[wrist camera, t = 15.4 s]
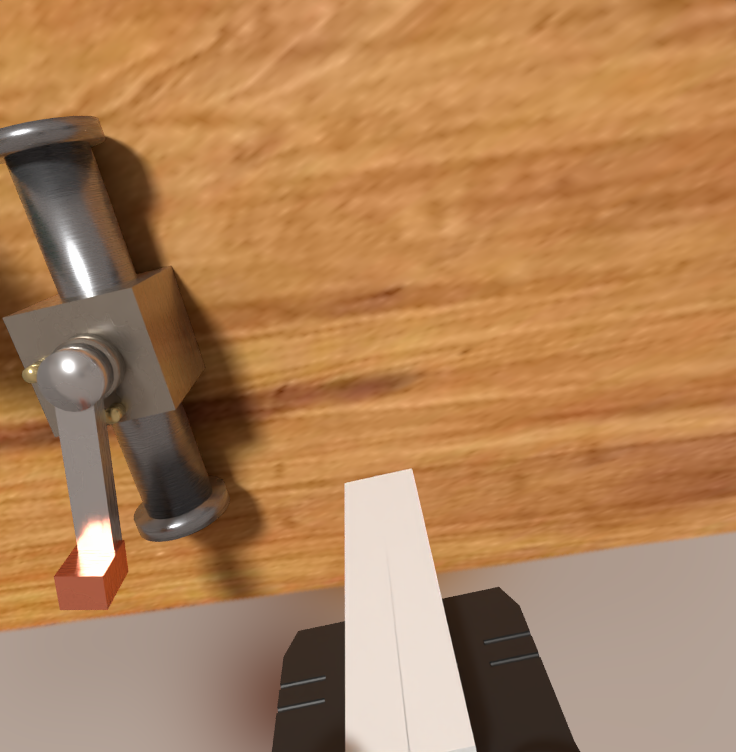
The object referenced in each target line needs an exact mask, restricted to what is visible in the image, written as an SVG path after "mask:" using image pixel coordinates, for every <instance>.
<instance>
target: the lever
mask: <svg viewBox="0 0 736 752" xmlns="http://www.w3.org/2000/svg"><path fill="white" fill-rule="evenodd" d="M113 380H114V371H113V367H112V364H111V362H110V360H109V359H108V357H107V356H106V355H105V354H104V353H103V352H102V351H101V350H99V349H98V348H96V347H94V346H92V345H89V344H85V343H72V344H68V345H66V346H64V347H62V348H61V349H59V350H57V351H56V352H54V353H53V354H51V355H49V356H48V357H46V358H45V359H44V360H43V361H42V363H41V364H40V366H39V368H38V371H37V384H38V387H39V390H40V392H41V393H42V395H43V396H44V398H45V399H46V400H47V401H48V402H49V403H51V404H52V405H54V406H55V411H56V418H57V424H58V430H59V436H60V442H61V448H62V454H63V461H64V467H65V473H66V479H67V485H68V491H69V497H70V503H71V510H72V516H73V522H74V528H75V534H76V540H77V545H76V547H75V548H74V549H73V551H72V552H71V554H70V555H69V556H68V558H67V559H66V561H65V562H64V563H63V565H62V566H61V567H60V569H59V570H58V572H57V573H56V574H55V576H54V579H55V585H56V590H57V596H58V601H59V607H60V610H108V608H109V606H110V604H111V603H112V601H113V599H114V597H115V595H116V593H117V591H118V590H119V588H120V586H121V584H122V582H123V580H124V578H125V577H126V575H127V573H128V565H127V558H126V550H125V543H124V540H122V536H121V528H120V521H119V513H118V506H117V498H116V491H115V483H114V476H113V468H112V461H111V453H110V446H109V438H108V431H107V423H106V416H105V408H104V401H103V396H104V395H105V394H106V393H107V392H108V391H109V390H110V388H111V386H112V384H113Z"/></svg>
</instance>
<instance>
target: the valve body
mask: <svg viewBox="0 0 736 752" xmlns="http://www.w3.org/2000/svg"><path fill="white" fill-rule="evenodd" d="M105 140H106V139H105V136H104V133H103V130H102V127H101V125H100V122H99V119H98V118H96V117H92V116H69V117H59V118H50V119H43V120H37V121H32V122H26V123H21V124H17V125H12V126H8V127H5V128H1V129H0V164H1V163H6V165H7V167H8V170H9V172H10V175H11V177H12V180H13V182H14V185H15V187H16V190H17V192H18V195H19V197H20V199H21V202H22V204H23V207H24V209H25V212H26V214H27V217H28V219H29V222H30V224H31V227H32V229H33V232H34V234H35V237H36V239H37V242H38V244H39V246H40V249H41V251H42V254H43V256H44V259H45V261H46V264H47V266H48V269H49V271H50V274H51V276H52V279H53V281H54V284H55V286H56V289H57V291H58V293H59V294H57V295H55V296H52V297H50V298H48V299H45V300H43V301H41V302H38V303H36V304H34V305H31V306H29V307H27V308H24V309H22V310H20V311H17V312H15V313H13V314H10V315H8V316H6V317H3V320H4V323H5V325H6V327H7V329H8V332H9V334H10V336H11V339H12V341H13V343H14V345H15V348H16V350H17V352H18V354H19V357H20V359H21V361H22V363H23V366H24V368H25V369H24V370H23V372H22V377H23V379H24V380H25V381H26V382H28V383H31V384H32V386H33V388H34V391H35V393H36V395H37V397H38V400H39V402H40V404H41V406H42V409H43V411H44V413H45V415H46V418H47V420H48V422H49V424H50V427H51V429H52V431H53V433H54V436H55V437H57V436H59V430H58V424H57V418H56V411H55V406H54V405H52V404H51V403H49V402H48V401H47V400H46V399H45V398H44V396H43V395H42V393H41V392H40V390H39V387H38V384H37V371H38V368H39V366H40V364H41V363H42V361H43V360H44V359H45V358H46V357H48V356H49V355H51V354H53V353H54V352H56V351H57V350H59V349H61V348H62V347H64V346H66V345H68V344H72V343H85V344H89V345H92V346H94V347H96V348H98V349H99V350H101V351H102V352H103V353H104V354H105V355H106V356H107V357H108V359H109V360H110V362H111V364H112V367H113V371H114V380H113V384H112V386H111V388H110V390H109V391H108V392H107V393H106V394H105V395H104V396H103V401H104V408H105V416H106V423H107V425H110V424H111V425H112V427H113V430H114V432H115V435H116V437H117V440H118V442H119V444H120V447H121V449H122V452H123V454H124V457H125V459H126V462H127V464H128V467H129V469H130V472H131V474H132V477H133V479H134V482H135V484H136V487H137V489H138V491H139V494H140V496H141V499H142V501H143V502H142V503H141V504H140V505H139V507H138V508H137V509H136V511H135V514H134V521H135V523H136V526H137V528H138V531H139V533H140V535H141V536H142V537H143V538H144V539H146V540H149V541H155V542H162V541H170V540H175V539H178V538H182V537H185V536H188V535H190V534H193V533H195V532H197V531H199V530H201V529H203V528H205V527H206V526H208V525H209V524H211V523H212V522H214V521H215V520H216V519H217V518H219V517H220V516H221V515H222V514H223V513H224V511H225V510H226V509H227V507H228V505H229V502H230V497H229V494H228V491H227V488H226V485H225V482H224V481H223V480H222V479H221V478H218V477H215V476H208V474H207V471H206V469H205V466H204V463H203V460H202V457H201V455H200V452H199V449H198V446H197V443H196V441H195V438H194V435H193V432H192V429H191V427H190V424H189V421H188V418H187V415H186V412H185V410H184V407H183V404H182V400H183V399H184V397H185V396H186V394H187V393H188V392H189V390H190V389H191V387H192V386H193V385H194V383H195V382H196V380H197V379H198V378H199V376H200V375H201V373H202V372H203V370H204V369H205V365H204V362H203V359H202V356H201V353H200V350H199V347H198V344H197V341H196V338H195V335H194V332H193V329H192V326H191V323H190V320H189V317H188V314H187V311H186V308H185V305H184V302H183V299H182V296H181V293H180V290H179V287H178V284H177V282H176V279H175V276H174V273H173V270H172V267H171V266H169V267H165V268H160V269H156V270H152V271H148V272H143V273H139V274H136V272H135V269H134V266H133V263H132V261H131V258H130V255H129V252H128V249H127V247H126V244H125V241H124V238H123V235H122V233H121V230H120V227H119V224H118V221H117V218H116V216H115V213H114V210H113V207H112V204H111V202H110V199H109V196H108V193H107V190H106V188H105V185H104V182H103V179H102V176H101V174H100V171H99V168H98V165H97V162H96V159H95V157H94V154H93V151H92V148H91V147H93V146H95V145H98V144H100V143H102V142H104V141H105Z"/></svg>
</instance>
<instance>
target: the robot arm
mask: <svg viewBox="0 0 736 752" xmlns="http://www.w3.org/2000/svg"><path fill="white" fill-rule="evenodd" d="M280 685H281V690H280V691H279V699H278V707H277V708H278V713H277V715H276V723H275V731H274V739H273V747H272V752H580V751H579V749H578V747H577V745H576V743H575V742H574V739H573V737H572V734H571V732H570V729H569V727H568V725H567V722H566V720H565V717H564V715H563V712H562V710H561V707H560V705H559V702H558V700H557V697H556V695H555V692H554V690H553V687H552V685H551V683H550V680H549V677H548V675H547V673H546V670H545V668H544V665H543V663H542V660H541V658H540V657H539V654H538V650H537V648H536V645H535V643H534V640H533V638H532V636H531V634H530V631H529V628H528V626H527V623H526V621H525V618H524V616H523V613H522V611H521V608H520V606H519V605H518V604H517V603H516V602H515V601H514V600H513V599H512V598H511V597H509V596H508V595H507V594H506V593H505V592H504V591H503V590H502V589H501V588H500V587H496V588H492V589H487V590H482V591H477V592H472V593H468V594H463V595H458V596H453V597H448V598H444V599H442V598H441V594H440V590H439V585H438V580H437V576H436V571H435V567H434V563H433V558H432V554H431V550H430V545H429V541H428V536H427V532H426V528H425V523H424V519H423V515H422V510H421V506H420V502H419V497H418V493H417V488H416V484H415V480H414V475H413V471H412V469H407V470H403V471H398V472H394V473H389V474H384V475H380V476H375V477H371V478H366V479H362V480H357V481H352V482H348V483H345V621H344V622H340V623H335V624H330V625H325V626H320V627H315V628H311V629H306V630H301V631H298V633H297V634H296V636H295V638H294V640H293V642H292V643H291V645H290V647H289V648H288V650H287V652H286V654H285V655H284V659H283V667H282V675H281V683H280Z"/></svg>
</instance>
